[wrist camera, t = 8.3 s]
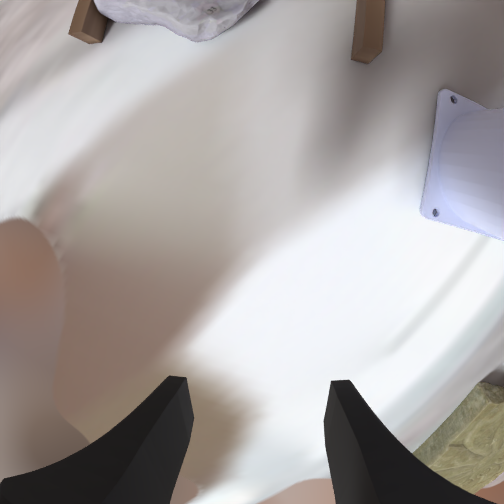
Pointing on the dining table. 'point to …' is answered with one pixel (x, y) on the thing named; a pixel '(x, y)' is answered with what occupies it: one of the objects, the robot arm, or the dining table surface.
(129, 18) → the stone block
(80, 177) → the dining table surface
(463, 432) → the decorative tile
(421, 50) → the dining table surface
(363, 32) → the walnut corral
